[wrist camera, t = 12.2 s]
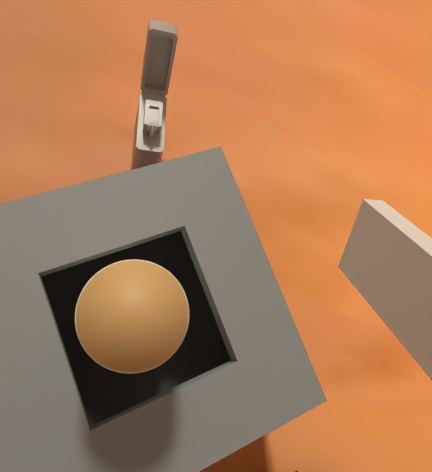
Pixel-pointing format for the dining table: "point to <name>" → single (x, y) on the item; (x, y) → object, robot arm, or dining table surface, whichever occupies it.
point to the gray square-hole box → (180, 363)
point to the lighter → (154, 93)
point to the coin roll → (132, 316)
